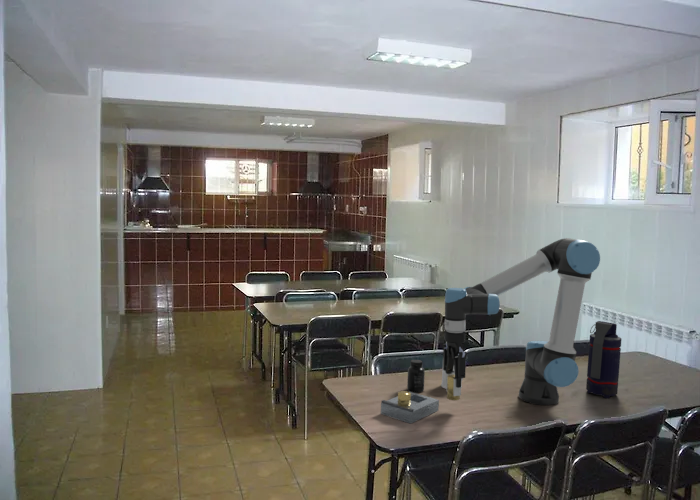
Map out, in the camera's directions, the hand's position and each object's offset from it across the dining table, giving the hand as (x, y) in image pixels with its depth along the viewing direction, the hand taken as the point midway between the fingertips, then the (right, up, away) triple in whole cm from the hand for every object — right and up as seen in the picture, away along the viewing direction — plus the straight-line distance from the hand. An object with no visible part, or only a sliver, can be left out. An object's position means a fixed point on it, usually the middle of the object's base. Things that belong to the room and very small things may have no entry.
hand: (453, 393), depth 215 cm
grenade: (+65, -7, +25) cm, 70 cm away
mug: (+5, -5, +27) cm, 28 cm away
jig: (-16, -6, -2) cm, 18 cm away
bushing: (0, -2, 0) cm, 2 cm away
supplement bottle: (-11, -5, +23) cm, 26 cm away
